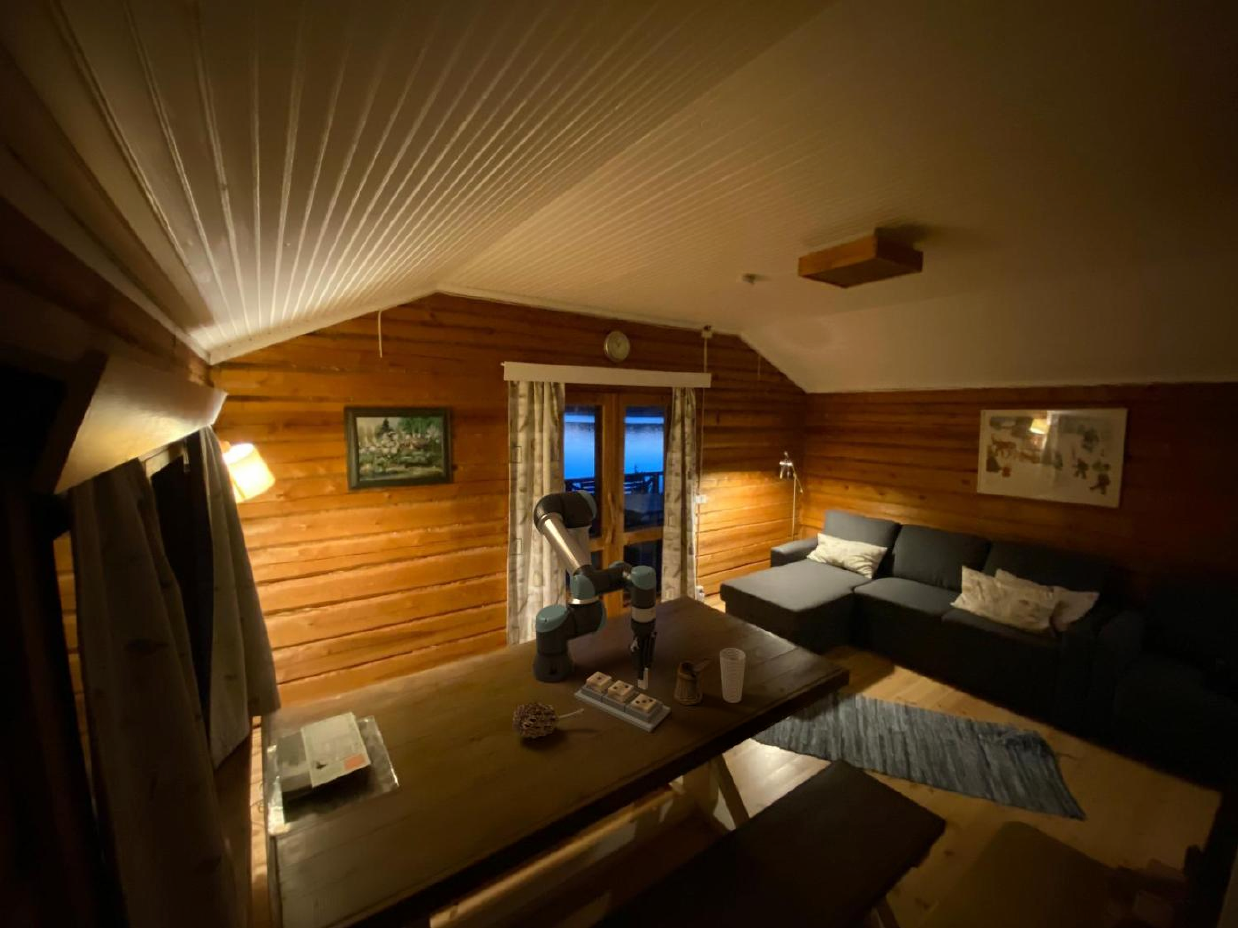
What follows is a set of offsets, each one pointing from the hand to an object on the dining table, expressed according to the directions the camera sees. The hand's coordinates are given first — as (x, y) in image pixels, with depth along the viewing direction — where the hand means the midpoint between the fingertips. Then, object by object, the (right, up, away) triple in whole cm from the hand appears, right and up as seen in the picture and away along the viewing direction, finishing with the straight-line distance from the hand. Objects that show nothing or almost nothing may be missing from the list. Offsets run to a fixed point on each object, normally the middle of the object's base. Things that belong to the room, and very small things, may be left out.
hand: (642, 686), depth 160 cm
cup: (+30, -8, +9) cm, 32 cm away
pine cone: (-28, -11, -6) cm, 31 cm away
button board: (-7, -8, +6) cm, 12 cm away
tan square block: (-14, -5, +11) cm, 19 cm away
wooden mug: (+17, -8, +8) cm, 20 cm away
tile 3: (0, -8, +1) cm, 8 cm away
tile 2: (-7, -5, +6) cm, 10 cm away
